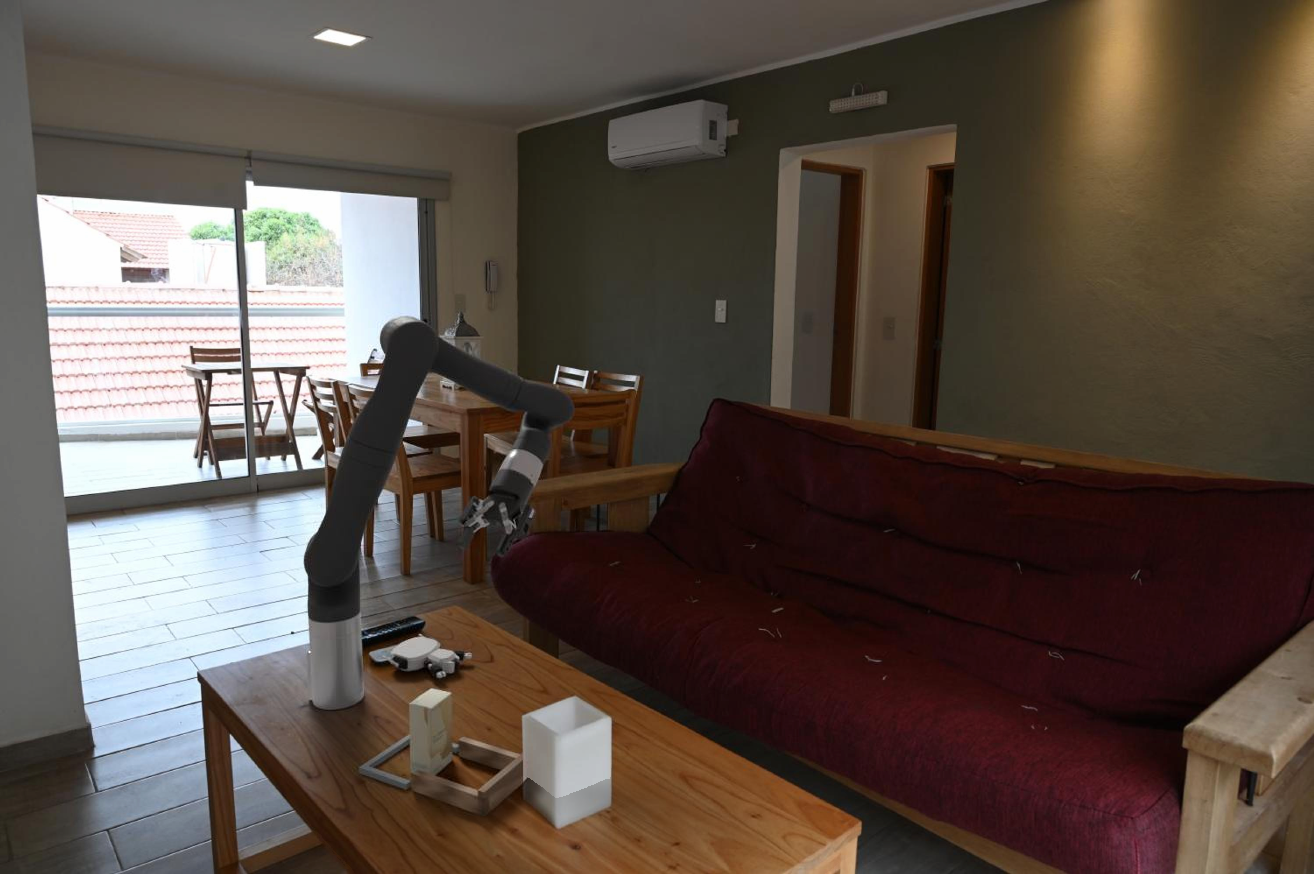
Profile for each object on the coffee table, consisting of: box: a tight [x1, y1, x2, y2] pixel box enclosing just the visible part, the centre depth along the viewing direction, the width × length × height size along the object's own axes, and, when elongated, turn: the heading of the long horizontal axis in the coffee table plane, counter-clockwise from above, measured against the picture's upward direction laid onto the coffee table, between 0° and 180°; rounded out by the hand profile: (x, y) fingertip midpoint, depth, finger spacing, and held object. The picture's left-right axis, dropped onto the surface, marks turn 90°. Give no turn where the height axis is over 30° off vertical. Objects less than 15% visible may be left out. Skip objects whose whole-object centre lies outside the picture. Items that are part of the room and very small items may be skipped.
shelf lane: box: [411, 736, 524, 817], centre depth 134 cm, size 14×12×4 cm
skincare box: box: [408, 688, 454, 776], centre depth 137 cm, size 6×4×12 cm
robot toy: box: [381, 633, 473, 679], centre depth 174 cm, size 12×4×15 cm
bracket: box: [358, 733, 459, 791], centre depth 140 cm, size 10×13×1 cm
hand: (480, 551), depth 153 cm, fingers open, 8 cm apart
